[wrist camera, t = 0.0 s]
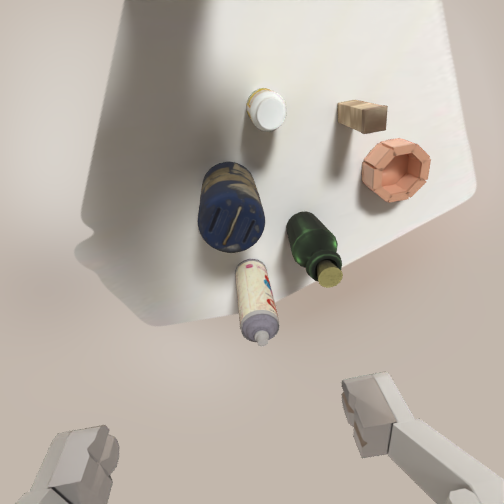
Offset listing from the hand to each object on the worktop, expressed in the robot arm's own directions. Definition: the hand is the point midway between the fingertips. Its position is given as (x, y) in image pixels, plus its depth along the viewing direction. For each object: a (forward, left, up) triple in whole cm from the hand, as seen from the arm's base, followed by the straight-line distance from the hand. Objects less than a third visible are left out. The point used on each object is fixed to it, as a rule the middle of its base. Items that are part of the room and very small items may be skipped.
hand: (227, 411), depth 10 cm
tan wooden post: (-1, +22, -48) cm, 53 cm away
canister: (+8, 0, -48) cm, 49 cm away
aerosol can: (+28, +1, -48) cm, 56 cm away
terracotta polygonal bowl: (+10, +30, -48) cm, 58 cm away
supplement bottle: (-4, +8, -48) cm, 49 cm away
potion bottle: (+19, +13, -48) cm, 54 cm away
